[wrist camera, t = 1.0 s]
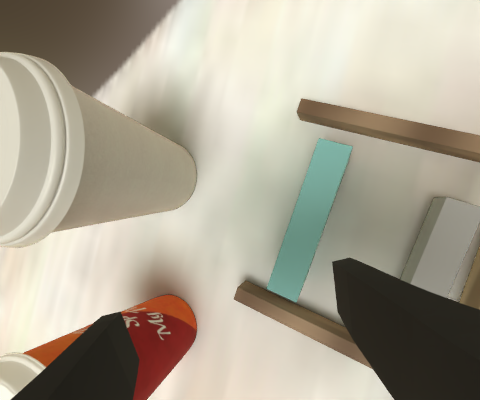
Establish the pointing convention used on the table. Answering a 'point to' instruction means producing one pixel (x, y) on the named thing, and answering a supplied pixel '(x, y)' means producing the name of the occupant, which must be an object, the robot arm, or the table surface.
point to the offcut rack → (374, 127)
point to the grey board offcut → (441, 245)
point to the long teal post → (309, 218)
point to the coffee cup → (76, 158)
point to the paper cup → (143, 337)
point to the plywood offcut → (473, 285)
